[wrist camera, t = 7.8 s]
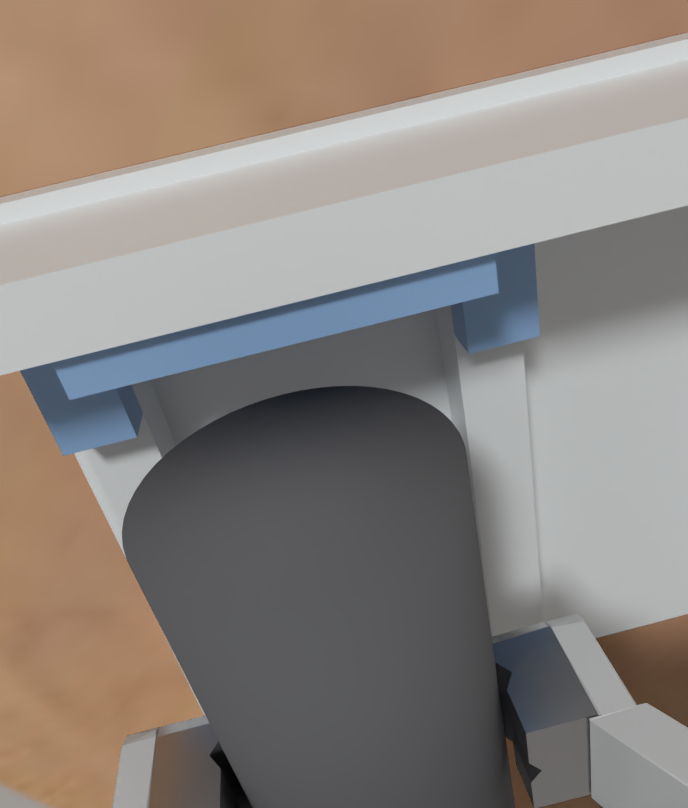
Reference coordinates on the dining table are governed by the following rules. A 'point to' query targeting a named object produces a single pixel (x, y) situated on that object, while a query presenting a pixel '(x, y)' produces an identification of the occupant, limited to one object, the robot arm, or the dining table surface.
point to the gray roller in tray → (329, 600)
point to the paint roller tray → (405, 310)
